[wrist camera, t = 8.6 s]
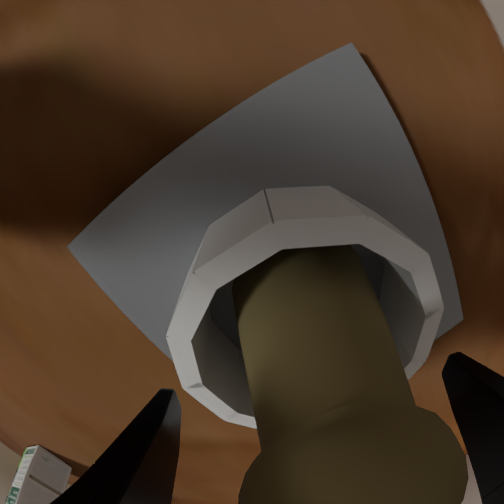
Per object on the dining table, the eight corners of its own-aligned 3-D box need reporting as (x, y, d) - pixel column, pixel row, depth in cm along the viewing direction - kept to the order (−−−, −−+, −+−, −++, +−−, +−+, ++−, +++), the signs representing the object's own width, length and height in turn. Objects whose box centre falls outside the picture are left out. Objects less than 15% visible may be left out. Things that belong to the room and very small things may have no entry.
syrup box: (37, 443, 23) (5, 528, 10) (74, 468, 25) (49, 551, 12) (26, 446, 24) (-4, 521, 11) (59, 469, 26) (35, 543, 13)
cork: (388, 282, 13) (516, 486, 3) (299, 361, 15) (335, 568, 5) (298, 197, 11) (473, 504, 1) (203, 299, 13) (159, 567, 3)
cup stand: (256, 418, 18) (258, 479, 14) (76, 238, 13) (18, 288, 8) (455, 310, 15) (497, 360, 11) (343, 48, 10) (397, 11, 5)
